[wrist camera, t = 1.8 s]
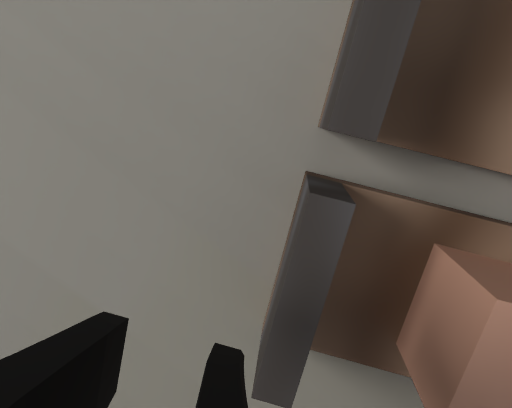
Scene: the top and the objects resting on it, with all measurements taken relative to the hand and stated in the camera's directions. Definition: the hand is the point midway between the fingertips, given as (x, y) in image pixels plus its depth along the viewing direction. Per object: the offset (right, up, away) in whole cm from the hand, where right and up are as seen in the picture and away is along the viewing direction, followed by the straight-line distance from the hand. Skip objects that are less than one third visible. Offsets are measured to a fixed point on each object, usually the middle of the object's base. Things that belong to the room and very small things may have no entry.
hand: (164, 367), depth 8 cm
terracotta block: (+12, -1, +8) cm, 14 cm away
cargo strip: (+9, 0, +9) cm, 13 cm away
